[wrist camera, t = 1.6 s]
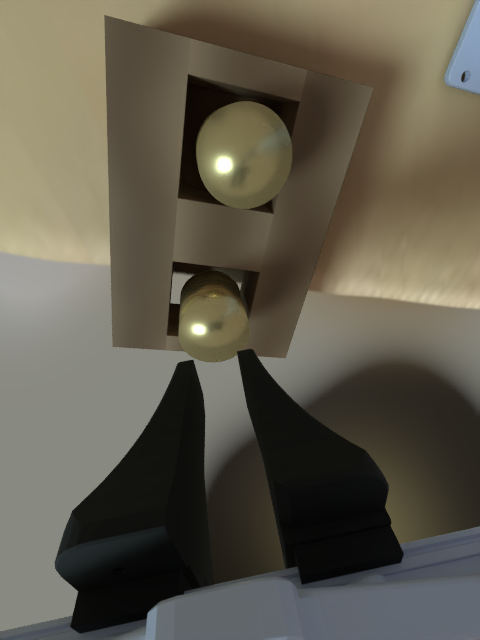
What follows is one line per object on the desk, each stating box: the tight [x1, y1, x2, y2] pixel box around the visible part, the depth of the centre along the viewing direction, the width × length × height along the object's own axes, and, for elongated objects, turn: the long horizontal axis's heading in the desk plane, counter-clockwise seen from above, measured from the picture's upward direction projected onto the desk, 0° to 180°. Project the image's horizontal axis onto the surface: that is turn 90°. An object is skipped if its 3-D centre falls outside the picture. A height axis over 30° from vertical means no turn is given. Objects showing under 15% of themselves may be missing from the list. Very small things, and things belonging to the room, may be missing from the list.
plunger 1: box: [196, 101, 292, 209], centre depth 13 cm, size 4×4×4 cm
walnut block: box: [104, 15, 374, 358], centre depth 18 cm, size 11×15×4 cm
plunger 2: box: [178, 271, 250, 362], centre depth 18 cm, size 4×4×4 cm
